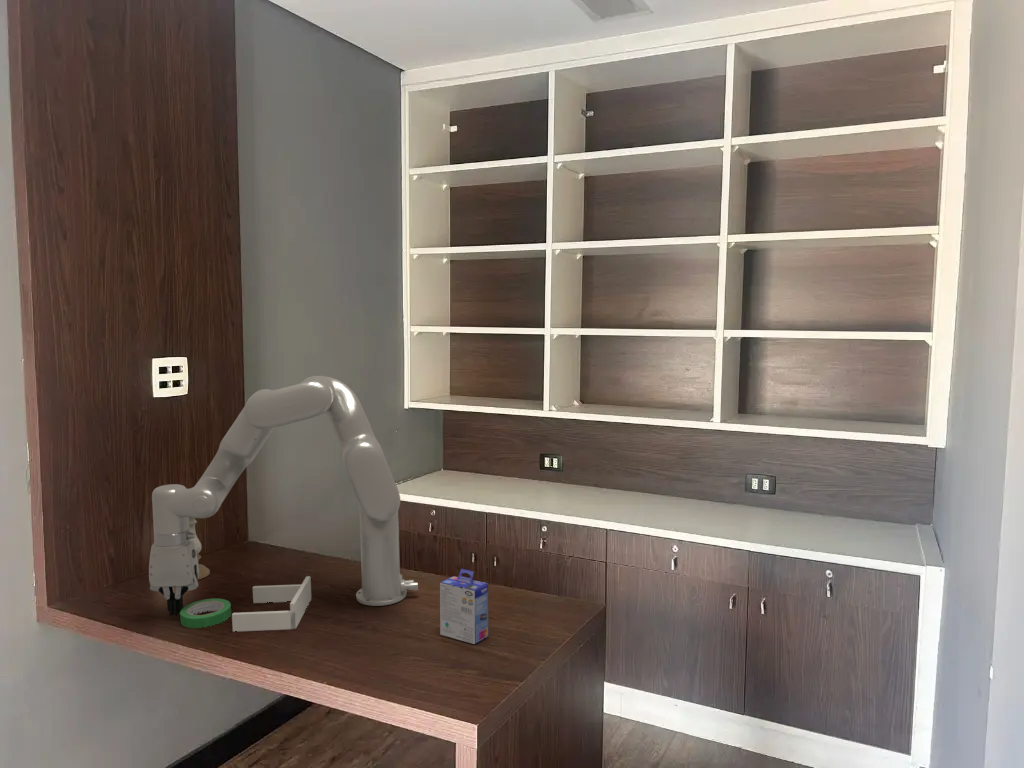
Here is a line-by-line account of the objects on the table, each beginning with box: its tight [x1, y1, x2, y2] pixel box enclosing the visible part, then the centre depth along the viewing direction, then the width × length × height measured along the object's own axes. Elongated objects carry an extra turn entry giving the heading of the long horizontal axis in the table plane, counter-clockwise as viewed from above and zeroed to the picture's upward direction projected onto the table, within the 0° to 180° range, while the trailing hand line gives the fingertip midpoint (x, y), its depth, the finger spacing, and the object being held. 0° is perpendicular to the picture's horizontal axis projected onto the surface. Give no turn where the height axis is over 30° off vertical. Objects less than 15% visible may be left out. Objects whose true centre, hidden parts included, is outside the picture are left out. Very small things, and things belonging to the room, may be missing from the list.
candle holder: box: [189, 517, 211, 581], centre depth 196 cm, size 9×9×20 cm
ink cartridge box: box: [439, 568, 489, 645], centre depth 158 cm, size 10×6×14 cm, turn 58°
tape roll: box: [179, 598, 232, 629], centre depth 170 cm, size 11×11×3 cm
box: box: [231, 575, 312, 632], centre depth 171 cm, size 14×17×6 cm
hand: (175, 613), depth 169 cm, fingers closed
